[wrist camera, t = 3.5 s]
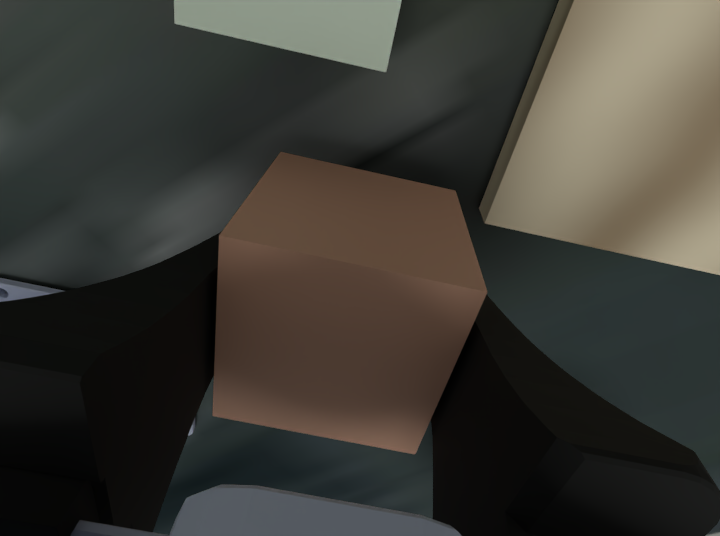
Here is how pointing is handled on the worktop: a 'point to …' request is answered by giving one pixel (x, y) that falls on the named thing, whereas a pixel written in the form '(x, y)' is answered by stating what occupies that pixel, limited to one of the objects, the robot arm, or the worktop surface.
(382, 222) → the terracotta block
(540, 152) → the base slab
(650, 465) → the robot arm
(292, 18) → the sage block
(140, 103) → the worktop surface
